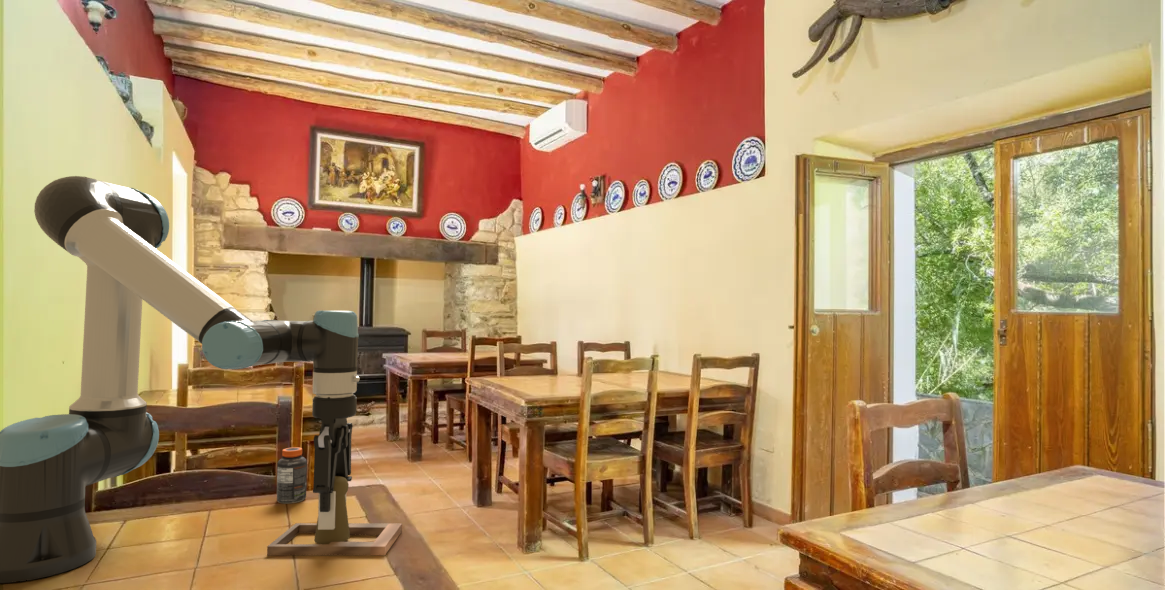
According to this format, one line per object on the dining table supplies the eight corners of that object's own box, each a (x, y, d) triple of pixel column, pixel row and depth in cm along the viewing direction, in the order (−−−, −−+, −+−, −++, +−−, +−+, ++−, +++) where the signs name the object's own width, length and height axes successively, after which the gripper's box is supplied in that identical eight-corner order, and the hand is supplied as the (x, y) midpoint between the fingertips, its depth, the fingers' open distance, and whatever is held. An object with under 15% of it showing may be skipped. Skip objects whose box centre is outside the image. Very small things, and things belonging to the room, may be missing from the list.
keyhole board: (267, 555, 110) (267, 546, 110) (295, 531, 122) (295, 523, 122) (384, 555, 111) (385, 546, 111) (401, 531, 123) (402, 523, 123)
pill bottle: (301, 494, 146) (302, 444, 146) (309, 500, 141) (310, 449, 141) (273, 499, 142) (274, 447, 142) (280, 505, 137) (281, 452, 138)
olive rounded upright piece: (337, 545, 113) (339, 482, 113) (307, 542, 114) (308, 480, 114) (356, 534, 119) (357, 474, 119) (327, 531, 120) (328, 472, 120)
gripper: (338, 402, 108) (335, 541, 107) (370, 388, 126) (368, 507, 126) (293, 401, 108) (290, 541, 107) (331, 388, 126) (329, 507, 125)
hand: (332, 523), depth 116 cm, fingers closed on olive rounded upright piece, 5 cm apart
